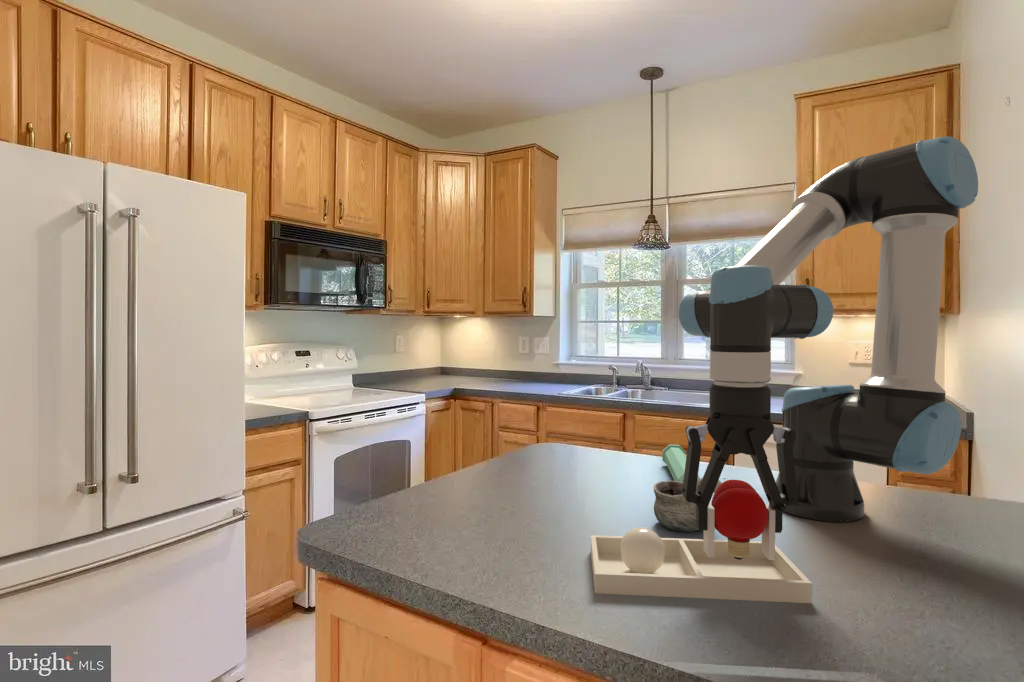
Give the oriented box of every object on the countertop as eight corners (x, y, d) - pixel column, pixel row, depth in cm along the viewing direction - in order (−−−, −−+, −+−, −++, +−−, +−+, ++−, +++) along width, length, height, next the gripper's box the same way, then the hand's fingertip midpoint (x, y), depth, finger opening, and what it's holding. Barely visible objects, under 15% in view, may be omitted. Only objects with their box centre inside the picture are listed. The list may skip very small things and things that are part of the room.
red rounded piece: (775, 576, 68) (776, 496, 68) (716, 571, 70) (717, 493, 70) (758, 547, 78) (758, 476, 77) (705, 543, 79) (706, 473, 79)
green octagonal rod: (699, 467, 110) (680, 440, 135) (671, 477, 111) (657, 448, 136) (710, 495, 110) (690, 462, 135) (682, 504, 111) (667, 470, 136)
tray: (772, 562, 80) (772, 541, 79) (811, 607, 67) (812, 583, 67) (590, 555, 82) (590, 535, 82) (594, 597, 69) (594, 574, 69)
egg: (660, 563, 78) (661, 521, 78) (668, 583, 72) (668, 537, 72) (617, 562, 78) (617, 520, 78) (622, 581, 72) (622, 536, 72)
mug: (671, 515, 100) (671, 460, 100) (740, 533, 91) (740, 473, 91) (642, 528, 93) (642, 469, 93) (713, 550, 84) (714, 484, 84)
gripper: (805, 381, 76) (804, 546, 76) (658, 380, 78) (657, 541, 78) (831, 387, 68) (829, 570, 69) (668, 385, 70) (667, 563, 71)
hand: (738, 554), depth 74 cm, fingers closed on red rounded piece, 7 cm apart
